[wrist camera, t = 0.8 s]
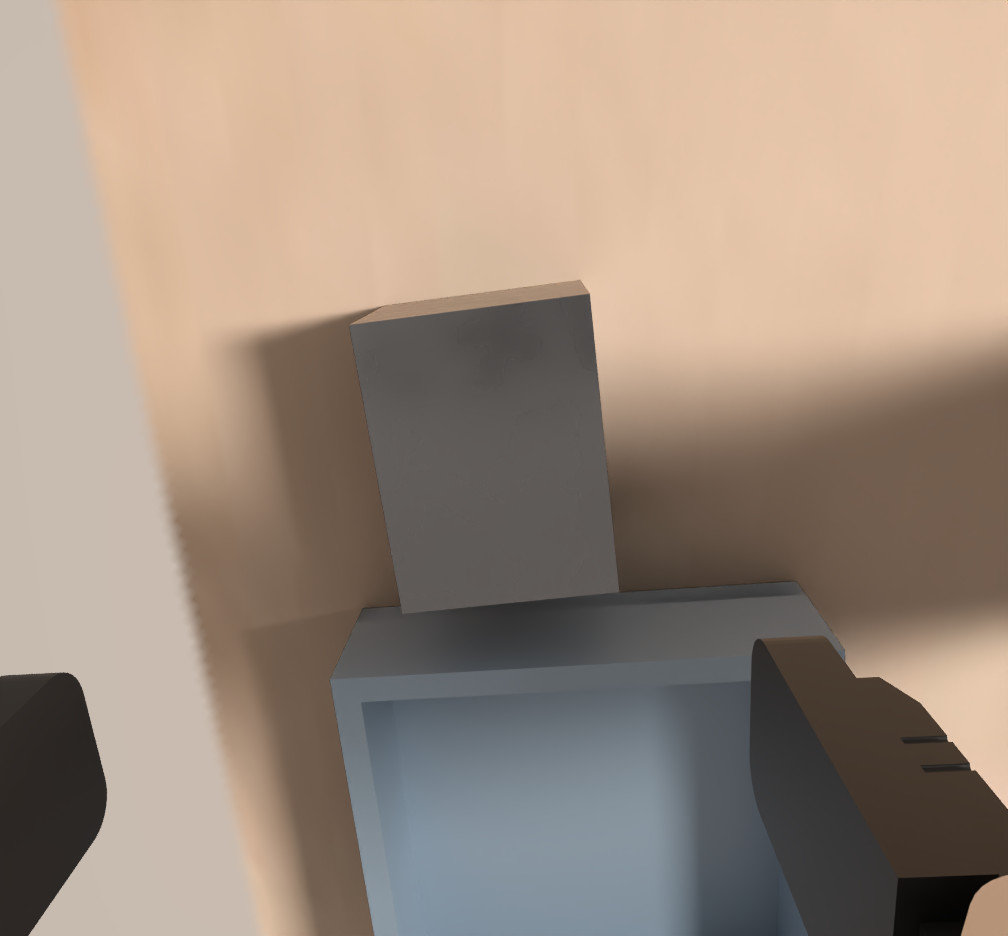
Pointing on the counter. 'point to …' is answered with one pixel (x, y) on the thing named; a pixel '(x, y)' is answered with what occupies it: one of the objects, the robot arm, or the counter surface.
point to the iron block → (489, 446)
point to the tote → (566, 764)
